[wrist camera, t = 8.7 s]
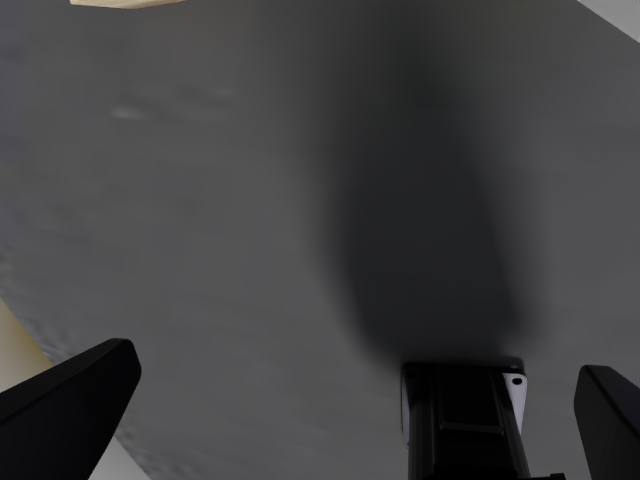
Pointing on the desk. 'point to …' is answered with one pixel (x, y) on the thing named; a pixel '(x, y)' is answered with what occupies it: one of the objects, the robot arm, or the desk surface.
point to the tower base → (123, 3)
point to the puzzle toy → (618, 14)
